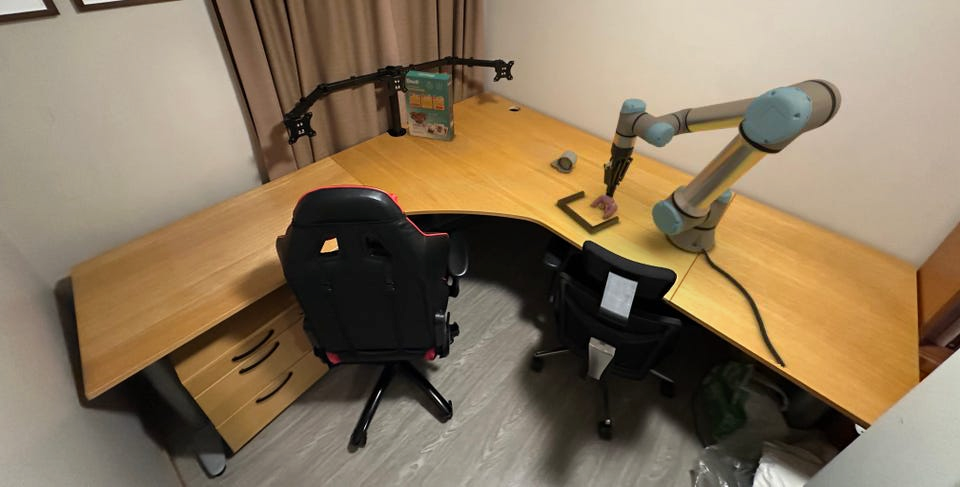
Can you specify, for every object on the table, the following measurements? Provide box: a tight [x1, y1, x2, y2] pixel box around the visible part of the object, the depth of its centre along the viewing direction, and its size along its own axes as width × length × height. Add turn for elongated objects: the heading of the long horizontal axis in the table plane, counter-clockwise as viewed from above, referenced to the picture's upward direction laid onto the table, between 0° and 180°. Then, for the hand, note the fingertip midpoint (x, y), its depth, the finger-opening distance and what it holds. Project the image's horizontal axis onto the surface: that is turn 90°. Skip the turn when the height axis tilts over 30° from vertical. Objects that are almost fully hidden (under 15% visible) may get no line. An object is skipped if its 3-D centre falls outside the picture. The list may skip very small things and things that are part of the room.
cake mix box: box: [404, 70, 455, 142], centre depth 192 cm, size 22×6×30 cm, turn 74°
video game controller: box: [590, 194, 619, 220], centre depth 154 cm, size 10×5×7 cm, turn 23°
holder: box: [556, 190, 620, 235], centre depth 154 cm, size 20×13×2 cm, turn 31°
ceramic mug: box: [551, 150, 578, 173], centre depth 177 cm, size 11×8×8 cm
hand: (608, 197), depth 156 cm, fingers closed
